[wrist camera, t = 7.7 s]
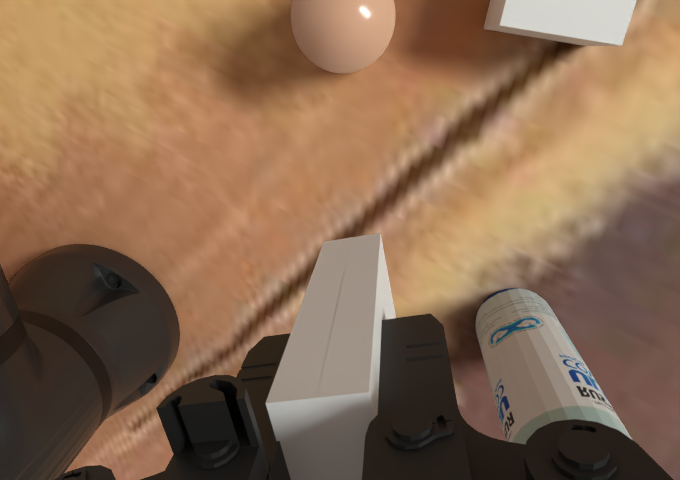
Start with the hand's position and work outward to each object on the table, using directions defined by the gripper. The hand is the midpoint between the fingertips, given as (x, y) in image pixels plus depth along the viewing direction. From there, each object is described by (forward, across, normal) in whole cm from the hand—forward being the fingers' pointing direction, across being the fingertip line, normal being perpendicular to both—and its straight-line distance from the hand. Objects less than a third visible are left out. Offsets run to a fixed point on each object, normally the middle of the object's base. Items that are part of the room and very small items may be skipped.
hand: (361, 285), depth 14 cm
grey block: (+27, -12, -7) cm, 30 cm away
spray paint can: (+27, -8, +17) cm, 33 cm away
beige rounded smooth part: (+26, +1, -8) cm, 28 cm away
